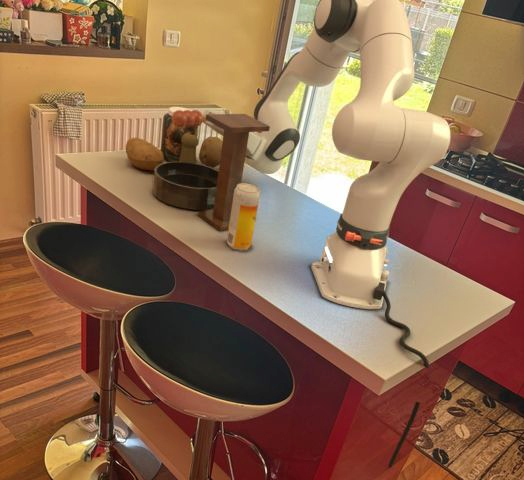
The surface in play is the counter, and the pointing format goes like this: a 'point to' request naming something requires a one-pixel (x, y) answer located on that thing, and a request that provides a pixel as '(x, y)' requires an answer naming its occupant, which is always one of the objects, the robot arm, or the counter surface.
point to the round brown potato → (211, 151)
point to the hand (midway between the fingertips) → (211, 116)
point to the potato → (143, 154)
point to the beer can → (243, 216)
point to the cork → (188, 148)
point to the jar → (174, 136)
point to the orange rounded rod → (188, 118)
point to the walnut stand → (230, 163)
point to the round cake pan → (186, 185)
